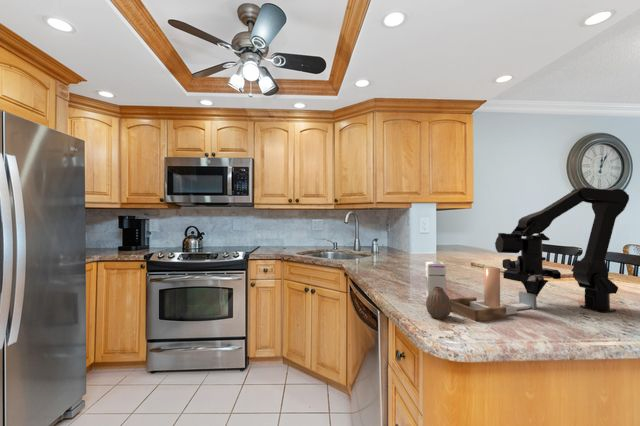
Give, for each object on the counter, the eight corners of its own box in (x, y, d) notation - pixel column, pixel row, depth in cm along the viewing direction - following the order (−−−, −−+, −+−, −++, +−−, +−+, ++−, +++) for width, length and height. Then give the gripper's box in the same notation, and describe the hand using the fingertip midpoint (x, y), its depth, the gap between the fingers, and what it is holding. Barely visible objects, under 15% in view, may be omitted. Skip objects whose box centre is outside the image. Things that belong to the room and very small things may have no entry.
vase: (451, 315, 86) (451, 286, 87) (451, 322, 80) (451, 291, 80) (427, 312, 89) (426, 284, 90) (425, 318, 83) (425, 288, 83)
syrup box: (447, 308, 93) (446, 264, 93) (428, 307, 94) (427, 263, 94) (443, 303, 98) (442, 261, 99) (425, 302, 100) (424, 261, 100)
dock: (473, 305, 96) (473, 297, 96) (506, 317, 84) (506, 307, 84) (445, 308, 93) (445, 299, 93) (475, 321, 81) (474, 310, 81)
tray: (516, 302, 99) (516, 289, 99) (543, 310, 90) (542, 296, 91) (469, 307, 93) (469, 293, 94) (493, 316, 85) (493, 301, 85)
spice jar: (496, 305, 92) (496, 267, 93) (502, 309, 88) (502, 269, 88) (482, 305, 93) (481, 266, 93) (487, 309, 89) (486, 268, 89)
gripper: (529, 250, 106) (529, 292, 106) (489, 251, 101) (489, 295, 101) (561, 253, 95) (562, 300, 95) (519, 255, 90) (519, 304, 90)
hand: (532, 300), depth 95 cm, fingers closed
